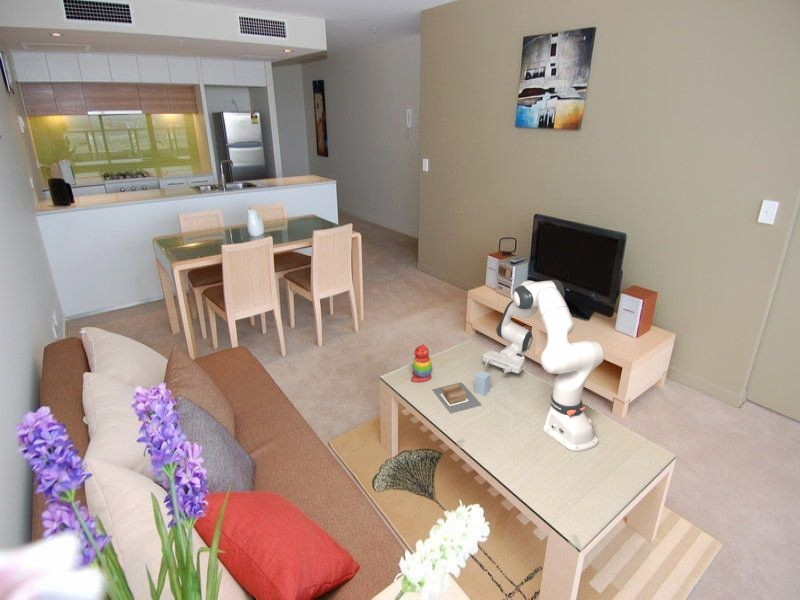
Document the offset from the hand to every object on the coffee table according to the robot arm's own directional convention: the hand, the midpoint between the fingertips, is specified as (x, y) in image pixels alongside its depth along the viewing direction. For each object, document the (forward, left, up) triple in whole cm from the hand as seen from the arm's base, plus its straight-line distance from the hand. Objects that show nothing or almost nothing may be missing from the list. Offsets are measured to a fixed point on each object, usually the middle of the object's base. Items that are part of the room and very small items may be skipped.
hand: (495, 368), depth 224 cm
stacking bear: (+17, +32, -7) cm, 36 cm away
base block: (-5, +25, -7) cm, 26 cm away
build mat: (-5, +24, -7) cm, 25 cm away
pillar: (-6, +11, -7) cm, 14 cm away
